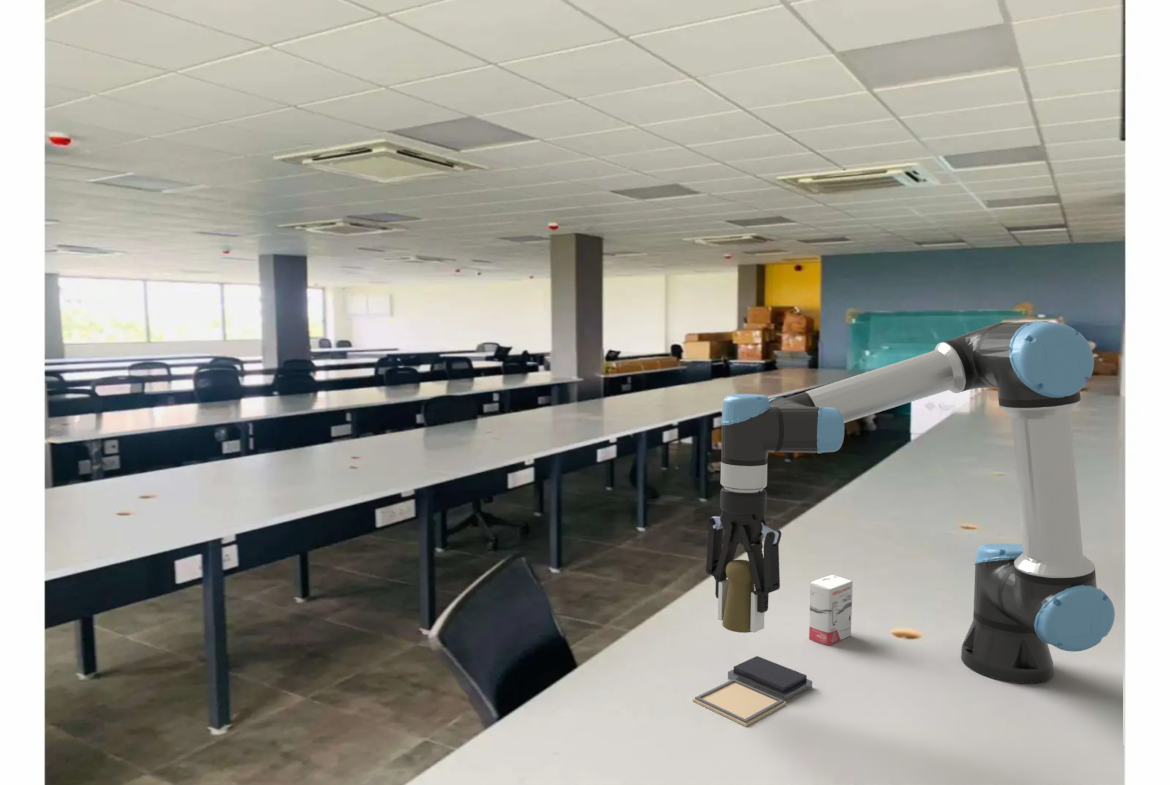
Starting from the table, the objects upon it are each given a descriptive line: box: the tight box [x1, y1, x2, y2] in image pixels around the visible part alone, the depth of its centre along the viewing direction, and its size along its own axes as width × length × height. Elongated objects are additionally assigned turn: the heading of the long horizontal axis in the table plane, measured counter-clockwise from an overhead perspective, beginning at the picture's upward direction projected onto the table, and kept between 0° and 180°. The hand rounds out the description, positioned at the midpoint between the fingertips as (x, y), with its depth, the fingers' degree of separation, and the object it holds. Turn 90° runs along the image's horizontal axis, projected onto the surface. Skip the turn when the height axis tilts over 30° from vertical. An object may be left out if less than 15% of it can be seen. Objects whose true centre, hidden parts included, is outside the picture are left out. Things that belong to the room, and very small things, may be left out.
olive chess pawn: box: [721, 559, 756, 634], centre depth 128 cm, size 6×6×11 cm
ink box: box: [808, 574, 854, 646], centre depth 156 cm, size 9×5×12 cm, turn 129°
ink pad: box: [727, 655, 813, 703], centre depth 136 cm, size 12×8×2 cm
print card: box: [692, 679, 787, 727], centre depth 129 cm, size 11×11×1 cm
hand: (740, 623), depth 128 cm, fingers closed on olive chess pawn, 6 cm apart
